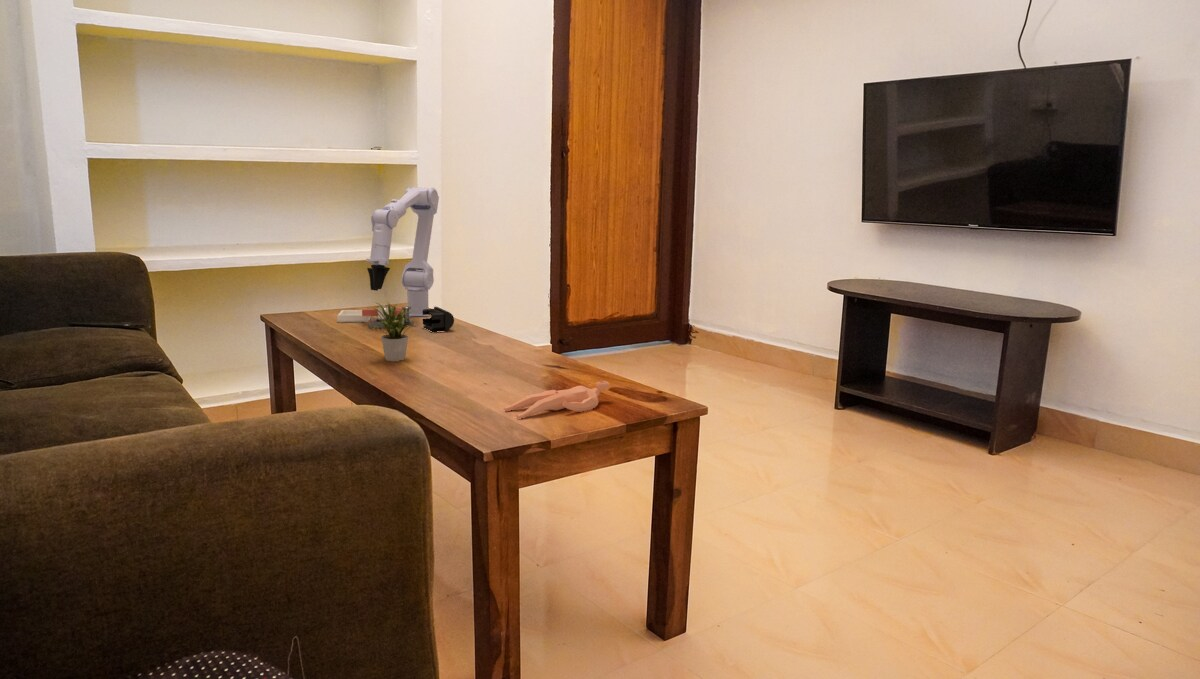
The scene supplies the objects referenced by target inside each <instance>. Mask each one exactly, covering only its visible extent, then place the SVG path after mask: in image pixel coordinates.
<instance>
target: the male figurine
mask: <svg viewBox="0 0 1200 679" xmlns="http://www.w3.org/2000/svg"><path fill="white" fill-rule="evenodd" d="M594 386H595V387H594V388H590V387H587V386H584V385H577V386H573V387H570V388H569V389H568V388H566V389H561V390H556V389H550V390H543V391H541V392H537V393H533V394H528V395H526V396H525V397H523V398H521V399H519V400H518V401H516V402H514V403H512V404H509V405H507V406H505V407H503V411H504V410H505V411H509V412H511V410H512V411H514V410H515V411H516V410H520V409H524V408H527V407H528V408H527V409H526V410H525V411H522V412H520V413H518V414H517V415H516V417H517V418H519V419H520V418H523V419H525V418H528V417H531V416H534V415H537V414H540V413H541V412H544V411H548V410H551V411H554V412H556V411H560V410H564V409H567V410H569V411H572V412H573V411H574V412H581V413H583V411H584V412H588V411H591V410H594V409H595V408H596V407H597V406H598V405H599V398H598V397H599V395H601V391H602V390H606V389H609V388H610V382H609V381H607V380H602V379H601V380H599V381H598V382H597V381H596V383H595V384H594ZM593 408H594V409H593ZM587 410H588V411H587ZM505 411H504V412H505ZM516 417H515V418H516ZM517 418H516V419H517ZM519 419H518V420H519ZM520 420H521V419H520Z"/></svg>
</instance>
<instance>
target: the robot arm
mask: <svg viewBox="0 0 1200 679" xmlns="http://www.w3.org/2000/svg"><path fill="white" fill-rule="evenodd" d="M438 194H439V193H438V191H437V189H436V188H435V187H413V186H409V187H408V188H406V189H405V193H404V195H403V196H402V197H400V198H399V199H396V198H392V199H391V200H390V202H389V203H388V204H386V205H384V206H383V207H382V208H381V209H379V208H377V209H376V210H374V211H373V212H372V215H371V216H370V220H371V222H370V223H371V230H372V231H371V232H372V242H371V247H370V249H371V250H370V257H369V258H366V259H365V261H366V262H368V263H370V264H371V265H370V266H371V267H367V268H366V269H367V272H368V276H369V282H370V283H369V285H370V291H375V292H376V291H377V292H378V290H382V288H383V287H384V286H383V285H384V283H385V282H384V281H385V279H386V277H387V274H388V272H389V271H390V270H391V267H386V266H388V265H389V264H390V253H391V246H392V245H391V244H392V235H393V230H394V229H395V228H396V227H397V226H398V222H399V219H401V218H402V217H404V216H405V215H406V213H407V209H409V208H410V209H411V210H412V212H413V213H414V214H416V215H417V218H418V219H417V223H416V224H417V225H416V232H415V238H414V246H413V250H412V251H413V252H412V258H411V259H412V260H410V261H409V262H408V263H406V264H405V265H404V268H403V269H404V270H403V272H402V274H401V277H400V278H401V281H400V282H401V284H402V286H403V287H404V289H405V290H406V296H407V298H406V300H407V305H406V306H409V307H411V309H410V310H409V313H410V312H411V311H412V310H413V311H412V312H411V313H410V314H409V316H411V317H430V315H423V310H424V309H430V308H429V291H430V290H431V288H432V287H433V285H434V281H435V279H434V277H435V276H434V268H433V267H432V266H431V265H430V264H429V263H428V260H429V259H428V258H429V253H430V252H429V250H430V245H431V238H432V237H431V236H432V230H433V224H434V216H435V215H436V214H437V213H438V207H439V206H438V205H439V199H440V196H439V195H438ZM417 307H419V308H417ZM415 308H416V309H415ZM414 309H415V310H414Z"/></svg>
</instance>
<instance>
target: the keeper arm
mask: <svg viewBox="0 0 1200 679" xmlns="http://www.w3.org/2000/svg"><path fill="white" fill-rule="evenodd" d="M376 309H377V310H378V308H375V309H374V308H371V309H369V308H368V309H367V308H362V309H361V310H362V316H371V317H378V314H377V313H378V311H377V310H376ZM401 311H404V310H403V309H402V308H396V309H395V315H396V317H397V315H398V314H399V313H400V312H401ZM375 312H376V313H375Z"/></svg>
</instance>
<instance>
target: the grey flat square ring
mask: <svg viewBox="0 0 1200 679" xmlns="http://www.w3.org/2000/svg"><path fill="white" fill-rule="evenodd" d="M369 321H370V322H368V324H369V329H373V328H374V326H377V325H381V326H379V327H380V328H381V329H386V328H385V327H383V326H384V325H383V324H382V323H380V322H378V317H371V320H369ZM375 324H376V325H375ZM382 325H383V326H382ZM379 327H377V328H376V329H380V328H379Z"/></svg>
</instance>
